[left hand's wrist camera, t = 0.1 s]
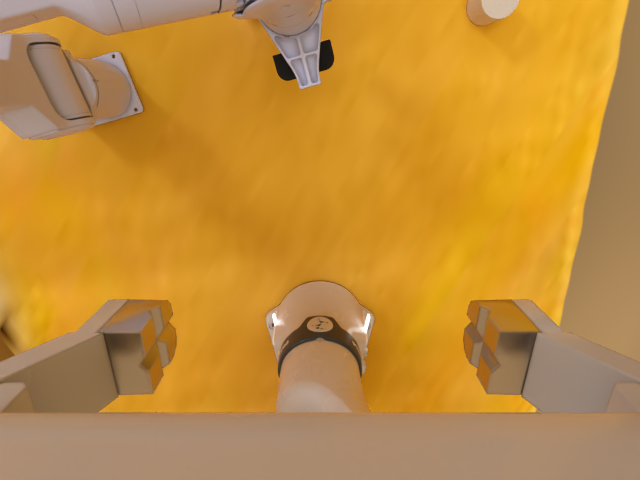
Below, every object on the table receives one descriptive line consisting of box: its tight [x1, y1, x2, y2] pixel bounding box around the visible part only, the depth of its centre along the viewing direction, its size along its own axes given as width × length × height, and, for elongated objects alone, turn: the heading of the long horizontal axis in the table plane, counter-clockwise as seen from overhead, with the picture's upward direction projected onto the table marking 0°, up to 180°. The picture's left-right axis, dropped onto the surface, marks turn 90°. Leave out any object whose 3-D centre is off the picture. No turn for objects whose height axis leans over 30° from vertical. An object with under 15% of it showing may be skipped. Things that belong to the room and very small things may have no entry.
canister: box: [467, 0, 519, 26], centre depth 47 cm, size 4×4×5 cm
